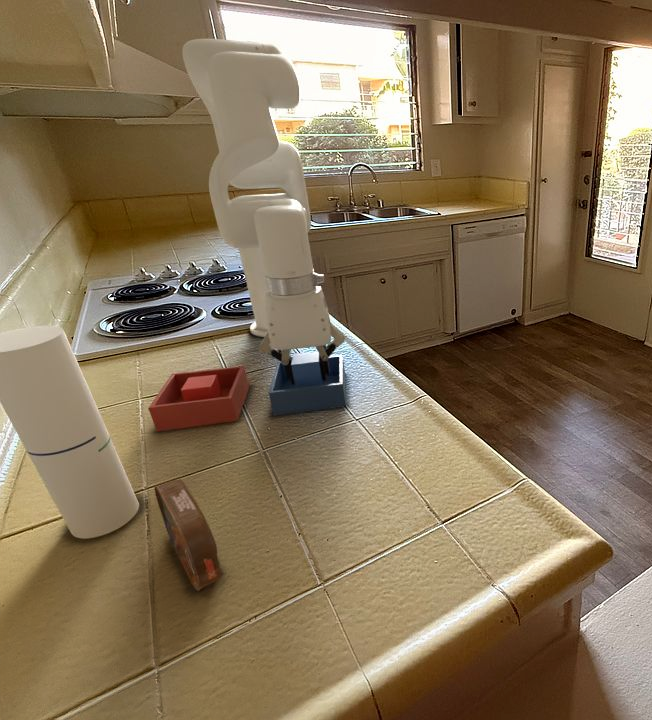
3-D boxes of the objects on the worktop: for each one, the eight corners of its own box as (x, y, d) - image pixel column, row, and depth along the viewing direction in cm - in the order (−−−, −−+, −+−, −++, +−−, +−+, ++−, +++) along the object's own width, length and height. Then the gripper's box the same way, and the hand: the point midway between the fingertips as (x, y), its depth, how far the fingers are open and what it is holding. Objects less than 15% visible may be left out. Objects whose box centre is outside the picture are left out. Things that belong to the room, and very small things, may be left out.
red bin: (179, 395, 87) (171, 373, 85) (249, 386, 89) (244, 365, 87) (156, 431, 76) (147, 408, 74) (237, 420, 79) (231, 397, 77)
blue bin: (281, 382, 91) (276, 362, 89) (345, 375, 94) (342, 354, 92) (273, 416, 80) (268, 393, 78) (346, 406, 83) (342, 384, 81)
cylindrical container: (56, 529, 57) (-46, 347, 46) (113, 491, 63) (35, 322, 52) (97, 544, 55) (0, 357, 44) (152, 504, 61) (79, 330, 50)
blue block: (297, 376, 87) (293, 353, 85) (323, 373, 88) (319, 351, 86) (295, 387, 83) (291, 364, 81) (322, 384, 84) (318, 361, 82)
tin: (164, 528, 58) (143, 475, 54) (192, 515, 60) (173, 463, 56) (203, 608, 48) (180, 550, 44) (234, 589, 50) (215, 532, 46)
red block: (195, 399, 84) (188, 377, 82) (223, 396, 85) (216, 374, 83) (188, 413, 80) (180, 390, 78) (217, 409, 81) (210, 386, 79)
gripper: (343, 274, 83) (356, 365, 91) (241, 281, 79) (263, 375, 87) (344, 286, 76) (357, 382, 84) (232, 294, 72) (257, 395, 80)
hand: (309, 378), depth 85 cm, fingers closed on blue block, 4 cm apart
